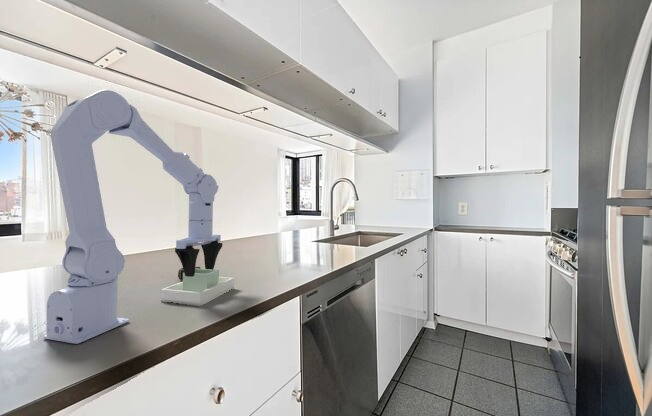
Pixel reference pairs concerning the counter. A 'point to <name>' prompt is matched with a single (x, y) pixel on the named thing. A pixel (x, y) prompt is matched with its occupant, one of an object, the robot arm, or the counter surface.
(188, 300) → the white shallow tray
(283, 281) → the counter surface
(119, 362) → the counter surface
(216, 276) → the small crate
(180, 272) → the tape measure
